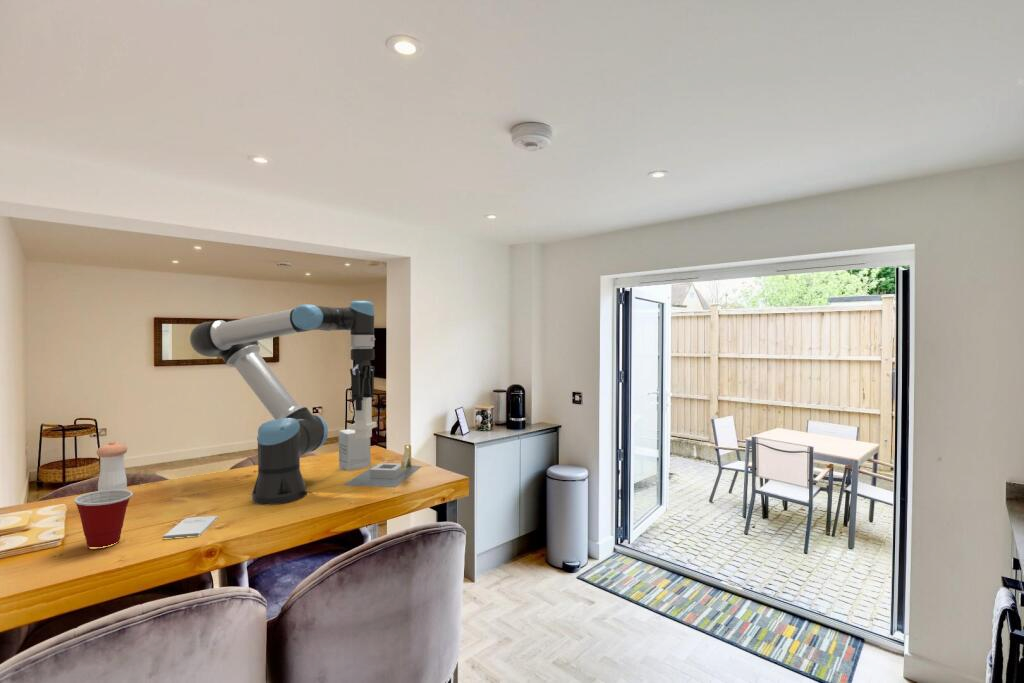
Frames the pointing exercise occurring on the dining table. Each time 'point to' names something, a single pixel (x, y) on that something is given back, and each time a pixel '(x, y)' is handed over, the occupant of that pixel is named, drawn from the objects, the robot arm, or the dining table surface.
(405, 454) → the clip
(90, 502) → the plastic cup
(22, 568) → the dining table surface
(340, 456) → the supplement box
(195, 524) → the external hard drive
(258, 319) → the robot arm
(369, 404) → the plug
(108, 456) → the pepper shaker
